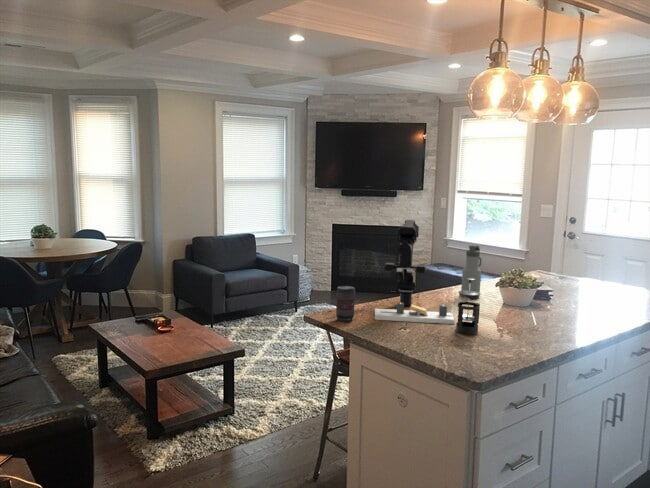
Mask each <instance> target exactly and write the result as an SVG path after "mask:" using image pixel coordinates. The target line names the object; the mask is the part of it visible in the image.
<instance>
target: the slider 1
mask: <svg viewBox="0 0 650 488" xmlns="http://www.w3.org/2000/svg"><path fill="white" fill-rule="evenodd" d="M399 302H400V301H399ZM399 302H396V310H397V313H404V310H405V306H404V303H401V302H400V303H399Z"/></svg>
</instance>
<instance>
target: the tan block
mask: <svg viewBox="0 0 650 488" xmlns="http://www.w3.org/2000/svg"><path fill="white" fill-rule="evenodd" d="M409 308H410V310H411V311H416V312H417V310H420V313H422V314H424V315H426V312H427V309H426V308H424V307H421V306H418V305H416V304H415V305H414V304H413V303H412V304H411V306H409Z"/></svg>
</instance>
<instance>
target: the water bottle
mask: <svg viewBox="0 0 650 488" xmlns="http://www.w3.org/2000/svg"><path fill="white" fill-rule="evenodd" d="M468 248H469V249H468V250H466V253H465V255H466V258H465V259H466V260H465V267H463V269H462V272H461V274H462V275H461V288H460V289H461V290H460V291H469V285H470V291H475V292H479V293H480V295H479V297H480V296H481V281H482V270H481V269H480V268H479V267H481V265H482V258H481V256H480V255H481V254H480V253H481V250H480V248H481V247H480V246H479V245H475V244H470V245H468ZM465 278H474V279H476V280H471V283H469V280H466V279H465ZM462 297H463V298H466V299H468V298H467V297H466V296H462Z"/></svg>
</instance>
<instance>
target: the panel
mask: <svg viewBox="0 0 650 488" xmlns="http://www.w3.org/2000/svg"><path fill="white" fill-rule="evenodd" d="M426 311H427V310H426ZM374 320H377V321H378V320H380V321H394V322H395V321H397V322H413V323H426V324H427V323H429V324H431V323H432V324H443V325H445V324H448V325H455V318H454V316H453V313H452V312H447V316H446V315H440V314H439V311H427V312H426V315H424V314H422V313H420V310H417V312H416V311H413V310H411V309H410V310H407V309H404V313H397V309H393V308H392V309H390V308H389V309H388V308H374Z"/></svg>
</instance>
